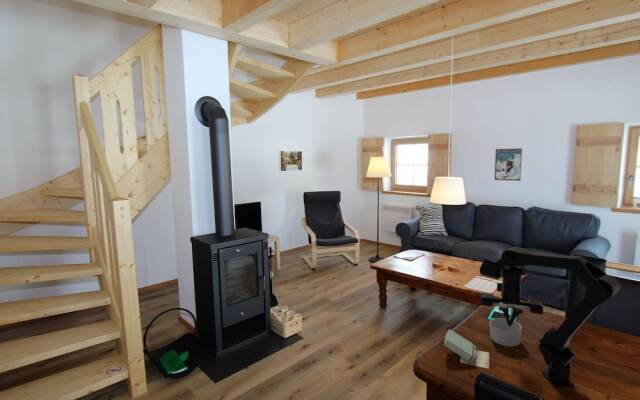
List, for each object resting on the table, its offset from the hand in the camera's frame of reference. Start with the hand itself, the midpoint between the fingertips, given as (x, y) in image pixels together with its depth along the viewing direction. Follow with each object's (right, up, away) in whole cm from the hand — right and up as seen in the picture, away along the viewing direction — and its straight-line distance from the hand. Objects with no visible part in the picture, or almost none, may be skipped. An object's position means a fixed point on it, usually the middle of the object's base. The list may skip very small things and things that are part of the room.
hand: (509, 325), depth 121 cm
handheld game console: (+15, -8, +32) cm, 36 cm away
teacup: (+5, -11, +11) cm, 16 cm away
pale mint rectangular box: (-13, -10, 0) cm, 16 cm away
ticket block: (-13, -12, 0) cm, 18 cm away
